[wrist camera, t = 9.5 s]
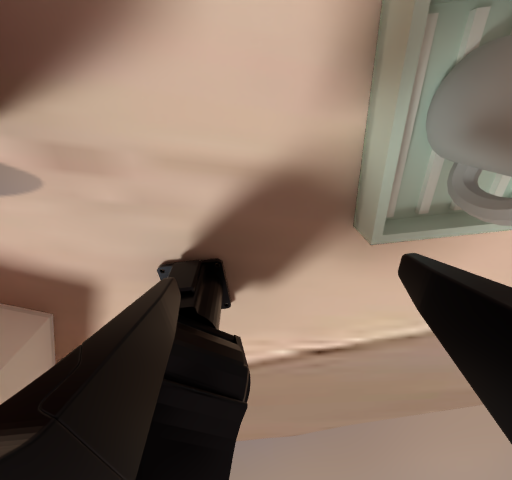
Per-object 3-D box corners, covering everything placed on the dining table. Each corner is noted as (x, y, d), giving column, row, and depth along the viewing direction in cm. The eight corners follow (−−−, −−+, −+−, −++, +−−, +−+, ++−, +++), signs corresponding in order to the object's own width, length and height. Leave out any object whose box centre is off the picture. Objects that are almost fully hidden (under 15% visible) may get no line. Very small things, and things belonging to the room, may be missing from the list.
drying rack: (497, 210, 21) (538, 227, 18) (353, 225, 22) (370, 245, 19) (608, -30, 14) (712, -69, 11) (382, -3, 14) (421, -34, 11)
